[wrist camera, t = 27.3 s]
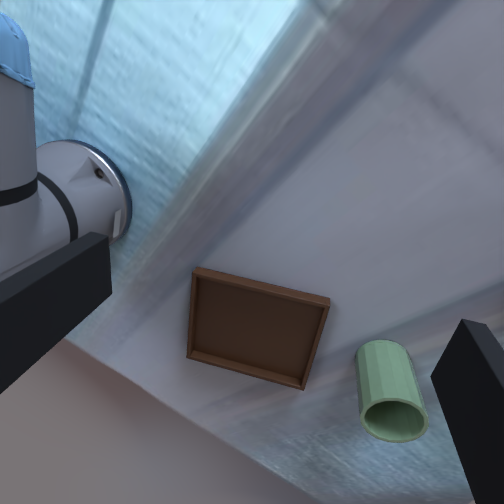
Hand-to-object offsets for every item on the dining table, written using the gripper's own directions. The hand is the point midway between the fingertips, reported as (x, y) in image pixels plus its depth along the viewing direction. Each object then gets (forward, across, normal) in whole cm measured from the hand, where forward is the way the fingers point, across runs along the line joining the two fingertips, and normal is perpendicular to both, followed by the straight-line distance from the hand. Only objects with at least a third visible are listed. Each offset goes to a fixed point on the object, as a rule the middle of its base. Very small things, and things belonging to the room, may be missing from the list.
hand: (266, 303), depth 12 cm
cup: (+29, +16, -25) cm, 41 cm away
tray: (+29, -3, -25) cm, 38 cm away
